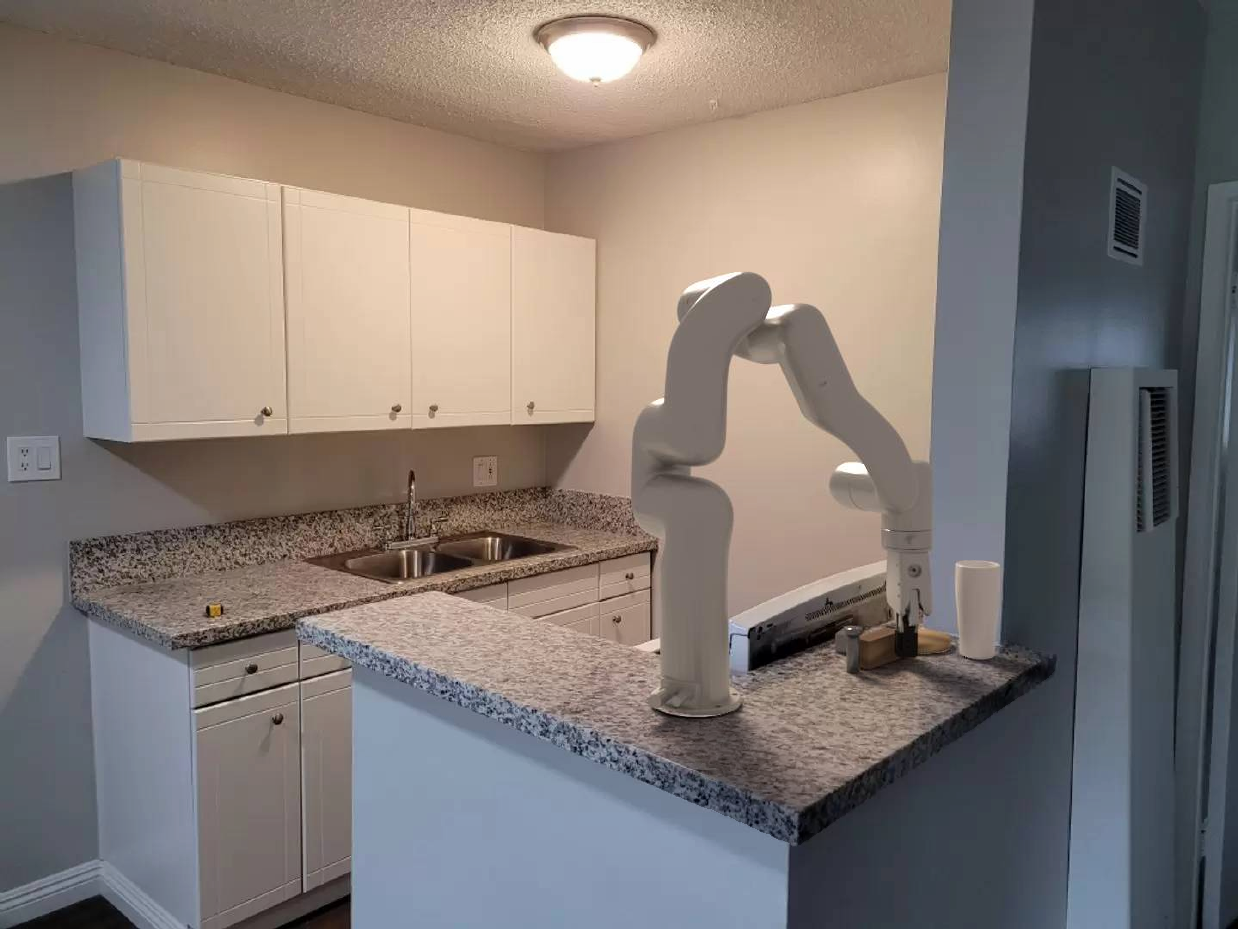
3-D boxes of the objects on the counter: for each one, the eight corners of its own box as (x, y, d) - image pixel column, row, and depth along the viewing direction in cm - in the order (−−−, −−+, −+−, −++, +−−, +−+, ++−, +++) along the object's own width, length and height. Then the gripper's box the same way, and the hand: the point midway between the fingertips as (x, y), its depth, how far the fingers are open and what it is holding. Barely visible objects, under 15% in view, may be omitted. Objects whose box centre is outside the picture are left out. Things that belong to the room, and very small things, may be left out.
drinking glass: (992, 650, 147) (992, 559, 146) (1005, 662, 140) (1006, 567, 139) (949, 650, 147) (950, 560, 146) (961, 662, 141) (961, 568, 140)
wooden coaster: (943, 657, 143) (943, 648, 143) (874, 649, 149) (874, 640, 149) (956, 641, 152) (956, 632, 152) (891, 633, 158) (891, 625, 158)
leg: (911, 655, 144) (911, 627, 144) (870, 670, 137) (870, 640, 137) (892, 651, 147) (892, 623, 146) (851, 665, 140) (851, 636, 139)
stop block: (849, 653, 146) (849, 635, 146) (835, 651, 148) (835, 634, 147) (856, 647, 150) (856, 630, 150) (842, 645, 151) (842, 628, 151)
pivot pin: (859, 675, 135) (859, 631, 135) (841, 672, 137) (841, 629, 136) (864, 670, 137) (864, 627, 137) (847, 667, 139) (846, 624, 138)
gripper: (945, 547, 130) (944, 670, 132) (918, 532, 145) (917, 643, 147) (893, 548, 131) (893, 670, 132) (871, 532, 146) (871, 643, 147)
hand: (906, 655), depth 140 cm, fingers closed
